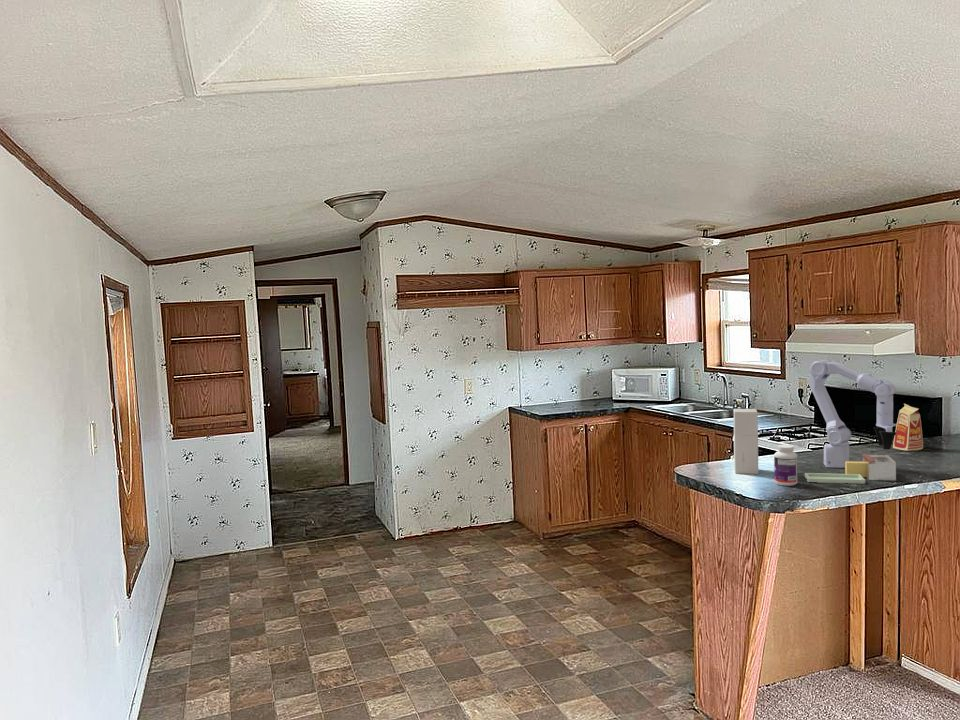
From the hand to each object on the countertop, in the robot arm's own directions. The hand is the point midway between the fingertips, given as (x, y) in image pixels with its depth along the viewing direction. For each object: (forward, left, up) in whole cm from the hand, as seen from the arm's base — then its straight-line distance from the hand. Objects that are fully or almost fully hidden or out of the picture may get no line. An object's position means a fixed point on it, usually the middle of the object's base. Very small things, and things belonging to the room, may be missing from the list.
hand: (884, 447), depth 304 cm
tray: (-21, -18, -10) cm, 29 cm away
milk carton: (+20, +48, -10) cm, 53 cm away
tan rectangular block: (-9, -9, -10) cm, 16 cm away
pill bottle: (-39, -26, -10) cm, 47 cm away
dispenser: (-4, -9, -10) cm, 14 cm away
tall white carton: (-52, -6, -10) cm, 53 cm away
